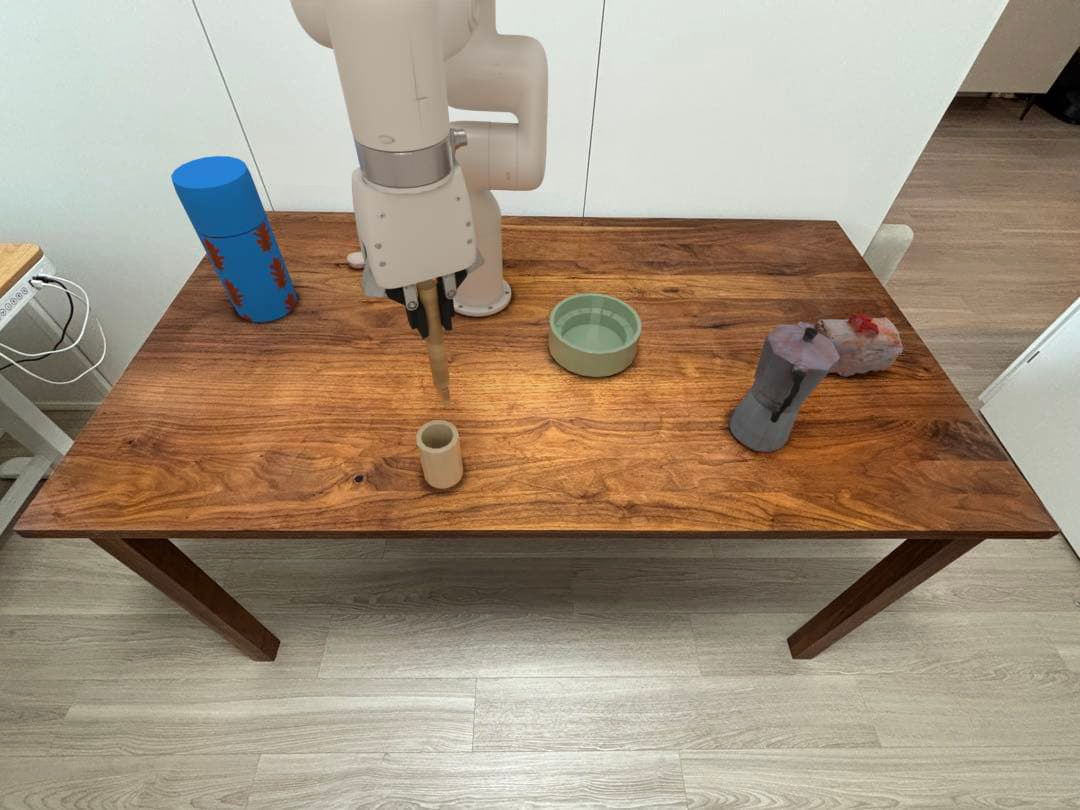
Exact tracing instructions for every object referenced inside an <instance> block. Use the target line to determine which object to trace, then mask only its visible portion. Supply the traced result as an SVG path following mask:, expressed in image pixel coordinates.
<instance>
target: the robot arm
mask: <svg viewBox="0 0 1080 810" xmlns="http://www.w3.org/2000/svg"><path fill="white" fill-rule="evenodd" d="M289 1H290V4H291V8H292V11H293V13H294V15H295V18H296V19H297V22H298V24H299V25H300V26H301V28H302V29H303V31H304V32H305V33H306V34H307V35H308V37H309V38H311V39H312V40H313V41H314V42H316V43H317V44H318V45H321V46H322V47H325V48H328V49H331V50H333V55H334V59H335V63H336V64H335V65H336V68H337V73H338V76H339V81H340V86H341V90H342V94H343V99H344V103H345V108H346V112H347V116H348V121H349V125H350V129H351V134H352V137H353V142H354V146H355V147H354V148H355V150H356V155H357V159H358V164H359V167H356V168H354V170H353V171H352V173H351V193H352V194H351V195H352V206H353V211H354V219H355V226H356V231H357V236H358V237H357V238H358V242H359V247H360V252H362V255H363V259H364V262H365V267H363V272H362V276H361V282H360V288H361V290H362V292H363V294H364V296H365V297H367V298H368V297H369V298H380V299H381V298H388V299H389V300H391V301H393V302H395V303H398V304H400V305H402V306H404V308H405V313H406V318H407V322H408V325H409V327H410V329H411V330H417V332H418V333H419V335H420V337H421V339H422V340H424V339H425V338H427V337H428V336H429V332H428V326H427V320H426V314H425V309H424V307H423V305H422V304H421V302H420V300H419V298H418V294H417V288H416V283H418V282H422V281H426V280H430V279H433V280H434V279H435V282H436V284H437V291H438V299H439V306H440V313H441V320H442V327H443V330H444V331H447V332H450V331H453V321H452V319H453V318H455V317H456V313H458V314H460V315H464V316H468V317H486V316H487V317H488V316H491V315H494V314H497V313H499V312H500V311H502V310H504V309H505V308H506V307H507V306H508V305H509V303H510V301H511V299H512V288H511V286H510V284H509V282H508V281H507V280H505V279H504V272H503V270H504V268H503V266H504V265H503V228H502V211H501V207H500V204H499V202H498V200H497V199H496V197H495V195H494V194H493V192H492V191H511V192H531V191H534V190H537V189H538V188H540V186H541V185H542V184H543V181H544V178H545V174H546V167H547V148H548V147H547V143H548V142H547V141H548V112H549V111H548V109H549V108H548V106H549V64H548V58H547V53H546V50H545V47H544V46H543V44H542V43H541V42H540V41H539V40H538V39H537V38H535V37H532V36H528V35H521V34H501V33H499V32H498V31H497V18H496V17H497V16H496V15H497V14H496V12H497V9H496V6H497V4H496V0H289ZM449 107H450V108H453V109H455V110H461V111H470V112H471V111H473V112H489V113H490V112H493V113H509V114H513V115H514V116H515V117H516V119H517V121H518V122H499V121H498V122H497V121H493V122H492V121H486V120H485V121H481V120H454V121H450V112H449Z"/></svg>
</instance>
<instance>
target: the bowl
mask: <svg viewBox="0 0 1080 810" xmlns="http://www.w3.org/2000/svg"><path fill="white" fill-rule="evenodd" d="M641 335H642V320H641V318H640V315H639V314H638V312H637V311H636V310H635V309H634V308H633V307H632V306H631V305H630V304H629V303H627V302H625V301H623V300H622V299H620V298H618V297H614V296H611V295H608V294H604V293H595V292H589V293H587V292H585V293H578V294H574V295H571V296H568V297H566V298H564V299H562V300H561V301H559V302H558V303H557V304H556V305H555V306H554V308H553V309H552V310H551V312H550V317H549V321H548V339H547V346H548V350H549V353H550V355H551V357H552V358H553V359H554V361H555V362H556V363H557V364H558V365H560V366H561V367H562V368H564V369H565V370H567V371H569V372H572V373H574V374H576V375H580V376H584V377H592V378H600V377H601V378H602V377H609V376H613V375H616V374H618V373H621V372H623V371H624V370H626V369H627V368H628V367H629V366H631V364H632V363H633V362H634V360H635V358H636V356H637V352H638V348H639V343H640V339H641Z"/></svg>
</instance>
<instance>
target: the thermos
mask: <svg viewBox="0 0 1080 810" xmlns="http://www.w3.org/2000/svg"><path fill="white" fill-rule="evenodd" d="M170 178H171V182H172V184H173V185H172V186H173V187H174V190H175V193H176V195H177V197H178V199H179V201H180V203H181V205H182V207H183V209H184V211H185V214H186V216H187V217H188V219H189V221H190V223H191V225H192V227H193V229H194V231H195V234H196V235H197V237H198V239H199V241H200V243H201V245H202V247H203V249H204V251H205V253H206V255H207V257H208V260H209V261H210V263H211V265H212V267H213V269H214V271H215V273H216V275H217V277H218V279H219V281H220V283H221V284H222V287H223V289H224V291H225V293H226V294H227V295H226V296H227V297H228V298H229V299H228V300H230V303H232V305H233V307H234V309H235V311H236V313H237V314H238V315H239V316H240V317H241V318H242V319H243V320H246V321H248V322H251V323H266V322H271V321H276V320H278V319H281V318H283V317H285V316H286V315H288V314H289V313H291V311H293V309H295V307H296V306H297V302H298V297H297V294H296V291H295V287H294V284H293V280H292V278H291V275H290V273H289V271H288V268H287V265H286V262H285V260H284V257H283V255H282V252H281V250H280V246H279V244H278V241H277V239H276V237H275V234H274V231H273V228H272V226H271V223H270V221H269V218H268V215H267V213H266V210H265V208H264V204H263V202H262V200H261V197H260V195H259V191H258V189H257V186H256V184H255V181H254V179H253V177H252V174H251V171H250V170H249V168H248V166H247V164H246V162H244V160H242V159H240V158H238V157H233V156H229V155H228V156H225V155H215V156H203V157H200V158H195V159H192V160H190V161H188V162H185V163H182V164H181V165H180V166H178V167H176V169H174V170H173V172H172V173H171V175H170Z"/></svg>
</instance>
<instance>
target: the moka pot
mask: <svg viewBox="0 0 1080 810" xmlns="http://www.w3.org/2000/svg"><path fill="white" fill-rule="evenodd" d="M814 326H815V325H813V324H812V323H808V322H804V321H801V320H800V321H798V322H797V324H779V325H777V326H776V327H775V328H774V329H773V330H771V331H770V332H769V333H768V334H767V335H766V336H765V338H764V342H763V345H762V347H761V348H762V349H761V352H760V355H759V359H758V363H757V364H756V368H755V371H754V375H753V378H754V381H753V384H752V386H751V387H750V388H749V390H748V391H747V392H746V393H745V395H744V397H743V398H742V399H741V400H740V402H739V403H738V404H737V406H736V408H735V409H734V410H733V411H732V413H731V414H730V416H729V417H730V418H729V421H728V422H729V424H728V427H729V429H730V432H731V434H732V435H733V436H734V437H735V439H736V440H738V441H739V442H740V443H741V444H742V445H744V446H746V447H747V448H749V449H751V450H753V451H755V452H763V453H769V452H776V451H778V450H780V449H781V448H783V447H784V446H786V444H787V442H788V440H789V437H790V435H791V432H792V430H793V427H794V425H795V422H796V419H797V417H798V414H799V411H800V409H801V406H802V405H803V403H804V402H805V401H806V400H807V398H808V397H809V396H810V395H812V393H813V392H814V391H815V390H816V388H817V387H818V386H819V385H820V383H821V382H822V381H823V380H824V379H825V377H826V376H827V375H828V374H830V373H829V371H830V370H831V369H832V368H833V367H834V365H835V364H836V363H837V362H838V361H839V359H840V356H839V354H838V352H837V350H836V349H835V347H834V345H833V343H832V341H831V339H829V338H827V337H826V336H824V335H822V334H820V333H818V331H817V330H816V329H815V328H814Z"/></svg>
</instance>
